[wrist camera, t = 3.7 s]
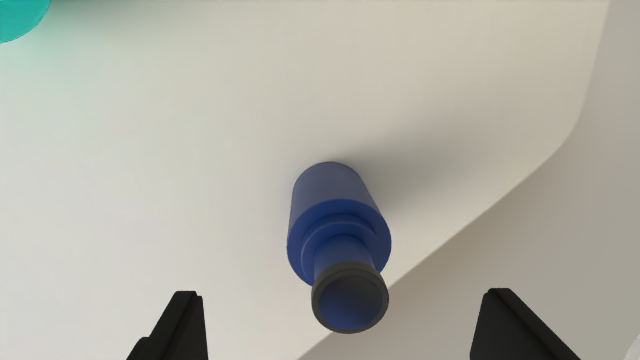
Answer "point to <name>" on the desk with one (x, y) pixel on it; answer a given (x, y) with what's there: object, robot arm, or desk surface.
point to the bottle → (339, 247)
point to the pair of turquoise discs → (20, 17)
